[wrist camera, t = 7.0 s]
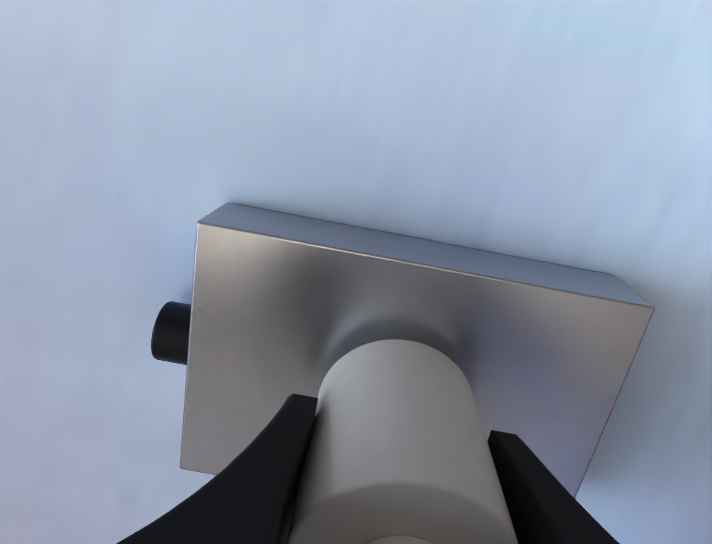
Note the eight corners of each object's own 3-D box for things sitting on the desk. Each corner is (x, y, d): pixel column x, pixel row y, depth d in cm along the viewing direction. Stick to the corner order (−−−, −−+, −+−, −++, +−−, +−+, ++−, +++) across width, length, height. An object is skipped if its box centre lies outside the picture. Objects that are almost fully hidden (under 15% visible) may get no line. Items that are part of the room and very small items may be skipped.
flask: (614, 274, 15) (656, 307, 13) (535, 480, 18) (559, 539, 15) (186, 194, 15) (149, 212, 12) (172, 413, 17) (140, 462, 15)
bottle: (491, 354, 13) (612, 635, 6) (452, 482, 14) (513, 822, 7) (330, 324, 13) (273, 574, 6) (307, 455, 14) (239, 775, 7)
